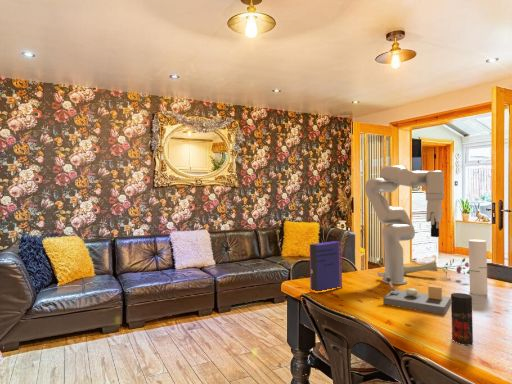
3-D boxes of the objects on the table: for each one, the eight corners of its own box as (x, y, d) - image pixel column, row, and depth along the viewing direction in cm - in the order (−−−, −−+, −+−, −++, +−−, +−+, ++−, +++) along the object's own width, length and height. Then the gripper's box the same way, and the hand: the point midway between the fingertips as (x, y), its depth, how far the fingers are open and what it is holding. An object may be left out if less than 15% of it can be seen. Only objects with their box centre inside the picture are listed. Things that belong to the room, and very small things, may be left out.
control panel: (383, 304, 155) (383, 296, 155) (393, 295, 168) (393, 288, 168) (444, 314, 140) (444, 306, 140) (451, 304, 153) (450, 296, 153)
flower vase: (406, 286, 211) (472, 278, 195) (403, 284, 201) (472, 276, 185) (401, 266, 215) (466, 257, 200) (398, 263, 205) (466, 254, 190)
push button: (405, 294, 155) (405, 290, 155) (407, 292, 158) (407, 287, 158) (416, 296, 152) (415, 291, 152) (418, 293, 156) (418, 289, 156)
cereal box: (335, 286, 187) (334, 240, 187) (342, 288, 183) (341, 241, 183) (310, 291, 177) (309, 244, 177) (317, 293, 173) (316, 245, 173)
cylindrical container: (490, 295, 165) (488, 241, 165) (473, 294, 166) (472, 241, 166) (483, 290, 172) (482, 239, 172) (467, 290, 173) (466, 239, 173)
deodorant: (448, 338, 119) (447, 293, 119) (464, 337, 119) (463, 292, 119) (459, 345, 113) (458, 298, 113) (477, 344, 113) (476, 297, 113)
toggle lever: (391, 291, 160) (384, 278, 161) (392, 290, 161) (386, 277, 163) (395, 290, 159) (388, 277, 160) (396, 289, 160) (390, 276, 162)
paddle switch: (428, 297, 152) (428, 286, 152) (429, 296, 154) (429, 285, 154) (441, 299, 149) (441, 287, 149) (442, 298, 150) (441, 286, 151)
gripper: (429, 196, 172) (429, 234, 172) (422, 197, 160) (422, 238, 161) (447, 196, 167) (447, 235, 168) (440, 198, 156) (440, 239, 156)
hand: (435, 236), depth 164 cm, fingers closed
